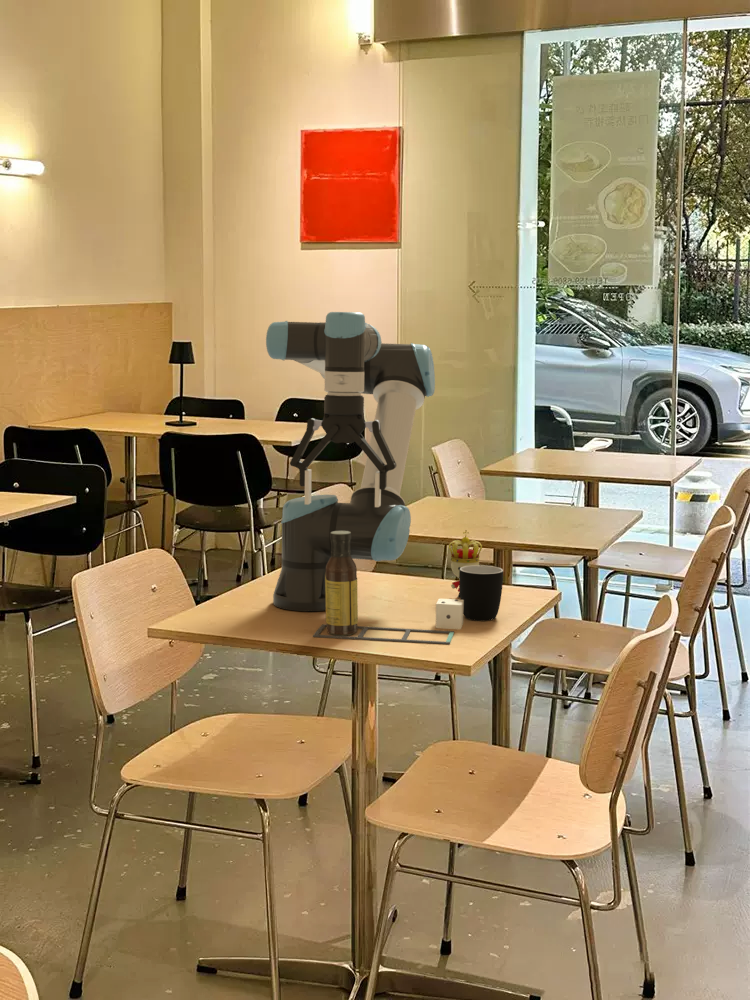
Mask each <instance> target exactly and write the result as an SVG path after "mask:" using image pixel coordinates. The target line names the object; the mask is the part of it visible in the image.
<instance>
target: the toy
mask: <svg viewBox="0 0 750 1000" xmlns="http://www.w3.org/2000/svg"><path fill="white" fill-rule="evenodd" d="M462 533H463V534H465V536H464V537H462V538H461V540H459V539H456V540H455V539H454V540H453V541H451V542H450V543H449V544H448V548H449V550H450V554H451V556H450V558H451V559H450V561H451V562H450V563H451V564H450V568H451V570H452V571H451V572H452V573H453V575H455V576H456V577H457V578H458V579H459V571H460V568H461V567H464V566H472V565H480V553H481V551H482V550H483V549H482V548H483V545H482V544H481V542H479V541H477V540H475V539H472V540H470V538H469V537H467V534H470V533H469V531H468V532H467V529H465V531H463V532H462ZM459 545H461V547H462V548H459V549H458V546H459ZM471 545H473V547H472V548H469V546H471ZM451 546H452V547H451ZM479 546H480V547H479ZM450 588H452V589H456V590H457V592H459V593H458V595H457V598H460V590H459V580H457V581H453V582H452V583H451V587H450Z"/></svg>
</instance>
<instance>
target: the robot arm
mask: <svg viewBox="0 0 750 1000" xmlns="http://www.w3.org/2000/svg"><path fill="white" fill-rule="evenodd" d="M265 335H266V337H265V345H266V346H265V347H266V352H267V354H268V356H269V357H270V358H271V359H272V360H279V361H280V360H282V361H289V360H290V361H294V362H297V363H299V364H300V365H303V366H305V367H307V368H310V370H313V371H315V372H318V373H320V376H321V377H322V379H324V392H325V393H326V395H325V396H324V401H323V402H324V403H323V406H324V407H323V408H324V410H323V411H324V412H323V413H324V414H323V419H322V420H320V419H316V418H314V417H312V418H308V420H307V421H306V422H307V423H306V430H305V432H304V434H303V436H302V438H301V440H300V442H299V444H298V446H297V448H296V450H295V452H294V454H293V456H292V458H291V460H290V462H289V465H290V466H291V467H294V468H297V469H298V470H299V486H300V487H304V496H301V497H296V498H292V499H289V500H286V502H285V503H284V504H283V507H282V517H281V521H280V524H281V569H280V572H279V575H278V578H277V582H276V585H275V587H274V591H273V600H272V602H273V604H272V605H274V607H276V608H280V609H283V610H287V611H288V610H289V611H295V612H297V611H298V612H322V611H323V612H324V611H325V612H326V591H325V573H326V565H327V563H328V561H329V559H330V558H331V540H330V533H331V532H333V531H349V532H351V540H350V551H351V558H352V559H354V560H355V559H356V560H368V561H369V560H370V561H376V562H381V561H395V560H397V559H398V558H400V557H401V555H402V554H403V553H404V550H405V548H406V546H407V544H408V540H409V536H410V532H411V530H410V527H411V522H412V521H411V520H412V519H411V518H412V516H411V512H410V509H409V507H407V506H406V502H405V500H404V498H403V496H401V490H402V485H403V480H404V475H405V469H406V463H407V457H408V452H409V447H410V441H411V436H412V431H413V430H412V429H413V426H414V422H415V421H414V420H415V415H416V410H418V409H420V408H421V407H422V406H423V405H424V402H425V398H426V397H427V398H429V397H432V396H433V395H434V394H435V389H436V387H435V386H436V376H435V364H434V357H433V353H432V350H431V348H430V346H428V345H426V344H419V343H413V342H410V343H382V337H381V336H382V335H381V334H380V332H379V330H377V328H376V327H375V326H373V325H372V324H370V323H367V322H366V316H365V314H364V313H362V312H358V311H356V312H355V311H330V312H328V313H327V315H326V316H325V322H321V321H319V322H312V321H311V322H310V321H309V322H307V321H288V320H285V321H273V322H272V323H271V324H270V325H269V326H268V328H267V330H266V334H265ZM362 394H364V395H372V396H373V399H374V400H375V402H376V403H377V405H376V409H375V410H376V411H375V415H374V420H372V421H370V420H369V421H366V420H365V416H364V415H365V410H364V409H365V408H364V407H365V405H364V403H365V397H364V396H363V395H362ZM320 427H321V428H322V429H323V431H324V432H325V435H324V436H323V438H321V439H320V441H319V442H318V444H317V445H315V447H314V448H313V449H312V450H311V451H310V453H308V455H307V456H306V457H305V458H304V460H303V461H301V459H302V457H303V456H304V453H305V451H306V450H307V447H308V445H309V444H310V442H311V439H312V438H313V436H314V434H315V431H318V430H319V429H320ZM365 429H368V431H369V432H370V433H371V435H370V440H369V443H368V441H367V439H366V438H365V437H364V436H363V434H362V433H363V432H364V431H365ZM331 442H333V443H335V444H340V443H345V444H349V445H350V444H352V443H355V444H356V445H357V446H358V447H359V448H360V449H361V450H362V451H363V453H364V454H365V456H366V460H365V464H364V469H363V472H362V473H363V474H362V479H361V484H360V487H359V488H357V489H355V490H354V491H353V493H351V497H350V502H339V499H338V496H337V495H336V494H316V495H314V494H313V495H312V477H313V475H312V471H313V470H312V468H310V469H309V468H308V467H310V465H311V464H312V463H313V461H315V459H316V458H317V457H318V456H319V455H320V454H321V453H322V451H324V449H325V448H326V447H327V445H328V444H330V443H331Z"/></svg>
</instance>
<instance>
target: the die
mask: <svg viewBox="0 0 750 1000" xmlns="http://www.w3.org/2000/svg"><path fill="white" fill-rule="evenodd" d="M463 604H464V600H461V598H460V599H457V598H456V599H455V598H453V599H451V598H438V599H437V602H436V603H435V629H445V630H448V629H449V630H461V629H462V627H463V625H464V614H463Z"/></svg>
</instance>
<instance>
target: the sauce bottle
mask: <svg viewBox="0 0 750 1000" xmlns="http://www.w3.org/2000/svg"><path fill="white" fill-rule="evenodd" d="M330 540H331V558H330V559H329V561H328V563H327V565H326V573H325V591H326V610H325V622H326V624H327V627H326V631H327V633H328V634H329V635H333V636H351V635H354V634H356V633H357V631H358V629H357V626H358V621H359V620H358V618H359V617H358V615H359V613H358V612H359V611H358V607H359V606H358V605H359V604H358V602H359V601H358V577H357V575H358V574H357V571H358V570H357V569H358V568H357V564H356V562H355V561H354V560H353V559H352V558H351V551H350V540H351V532H349V531H333V532H331V533H330Z"/></svg>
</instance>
